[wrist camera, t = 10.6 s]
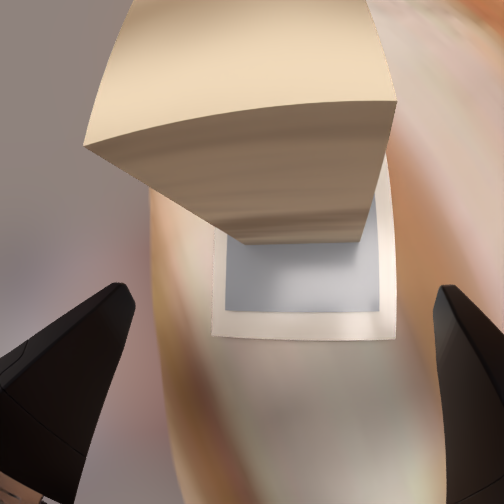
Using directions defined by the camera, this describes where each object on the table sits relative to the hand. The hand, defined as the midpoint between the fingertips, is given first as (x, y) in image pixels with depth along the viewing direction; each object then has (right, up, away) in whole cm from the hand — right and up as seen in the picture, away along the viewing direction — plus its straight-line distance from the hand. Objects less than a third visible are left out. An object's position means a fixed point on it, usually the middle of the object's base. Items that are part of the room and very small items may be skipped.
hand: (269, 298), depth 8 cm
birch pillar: (+2, +5, +9) cm, 10 cm away
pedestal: (+3, +4, +11) cm, 13 cm away
